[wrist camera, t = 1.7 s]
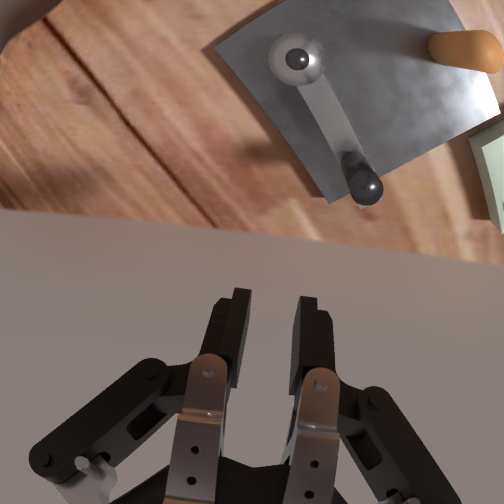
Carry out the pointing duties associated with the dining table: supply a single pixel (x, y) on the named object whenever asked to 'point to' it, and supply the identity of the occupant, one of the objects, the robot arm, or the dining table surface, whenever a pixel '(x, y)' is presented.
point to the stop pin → (467, 50)
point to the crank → (325, 111)
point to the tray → (491, 169)
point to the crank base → (364, 81)
